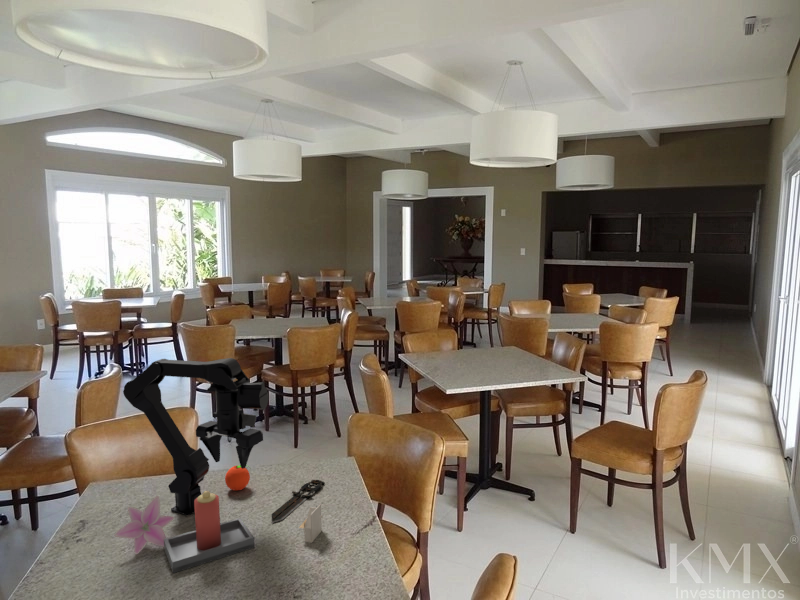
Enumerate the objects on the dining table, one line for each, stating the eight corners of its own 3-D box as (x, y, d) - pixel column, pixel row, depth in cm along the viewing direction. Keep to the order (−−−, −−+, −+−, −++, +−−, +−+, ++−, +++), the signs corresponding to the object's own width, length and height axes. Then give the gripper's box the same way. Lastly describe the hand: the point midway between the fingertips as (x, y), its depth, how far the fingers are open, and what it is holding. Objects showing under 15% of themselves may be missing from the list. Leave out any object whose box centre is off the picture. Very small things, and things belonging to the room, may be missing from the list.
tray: (164, 549, 127) (163, 539, 127) (240, 526, 137) (240, 517, 137) (173, 573, 118) (172, 562, 118) (254, 547, 128) (254, 537, 128)
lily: (107, 559, 126) (112, 532, 121) (127, 516, 136) (131, 490, 132) (160, 568, 128) (167, 542, 124) (176, 525, 138) (182, 500, 134)
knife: (275, 527, 138) (275, 522, 138) (255, 521, 141) (255, 516, 140) (330, 486, 160) (330, 481, 160) (312, 482, 163) (312, 477, 163)
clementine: (246, 480, 164) (245, 458, 163) (258, 488, 159) (257, 464, 158) (221, 489, 158) (220, 465, 157) (232, 497, 153) (231, 473, 152)
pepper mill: (191, 546, 127) (188, 493, 125) (209, 535, 131) (206, 484, 130) (208, 552, 124) (205, 498, 123) (226, 541, 129) (223, 488, 127)
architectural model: (298, 542, 131) (297, 513, 130) (311, 527, 137) (310, 499, 136) (311, 544, 130) (310, 515, 129) (323, 529, 136) (323, 501, 136)
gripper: (276, 403, 145) (278, 460, 146) (224, 395, 153) (226, 448, 155) (246, 415, 135) (249, 476, 137) (192, 406, 143) (196, 462, 145)
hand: (230, 464), depth 144 cm, fingers open, 9 cm apart
